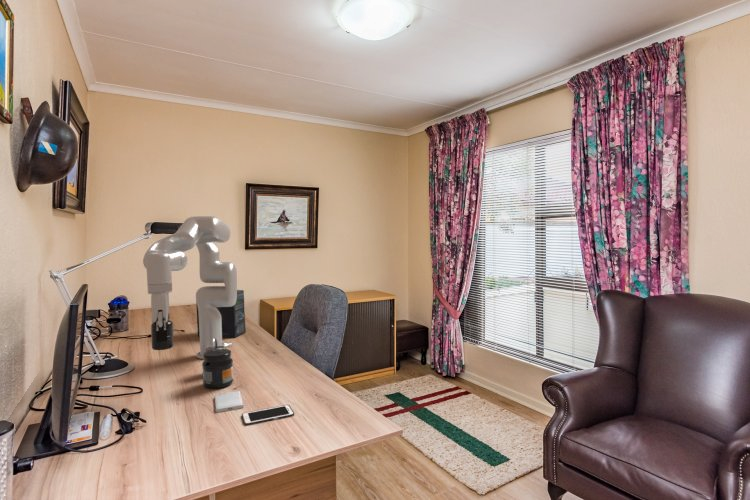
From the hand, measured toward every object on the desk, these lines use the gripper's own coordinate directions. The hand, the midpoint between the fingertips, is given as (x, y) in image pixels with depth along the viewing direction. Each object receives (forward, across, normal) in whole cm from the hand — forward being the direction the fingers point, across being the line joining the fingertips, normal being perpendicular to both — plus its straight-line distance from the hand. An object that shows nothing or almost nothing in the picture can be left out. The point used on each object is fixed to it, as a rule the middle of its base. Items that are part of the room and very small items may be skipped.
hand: (162, 338), depth 143 cm
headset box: (+22, -78, +24) cm, 84 cm away
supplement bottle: (+4, 0, 0) cm, 4 cm away
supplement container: (+20, +1, +17) cm, 26 cm away
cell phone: (+19, +35, +29) cm, 50 cm away
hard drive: (+20, +20, +19) cm, 34 cm away
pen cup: (+20, -12, +17) cm, 29 cm away
